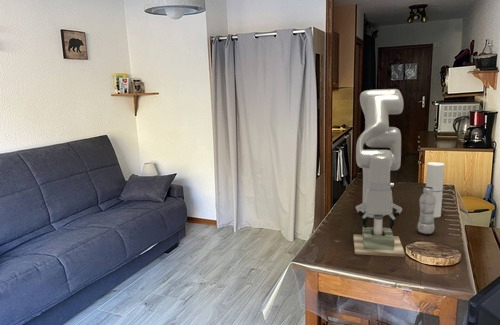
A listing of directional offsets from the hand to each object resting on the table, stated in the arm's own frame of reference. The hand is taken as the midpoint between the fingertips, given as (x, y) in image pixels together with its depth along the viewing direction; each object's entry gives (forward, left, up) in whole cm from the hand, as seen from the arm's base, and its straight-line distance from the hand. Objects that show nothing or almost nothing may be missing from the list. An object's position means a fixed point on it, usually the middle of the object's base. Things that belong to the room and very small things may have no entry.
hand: (378, 227), depth 150 cm
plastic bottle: (-16, +21, -8) cm, 27 cm away
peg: (0, 0, -7) cm, 7 cm away
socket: (0, 0, -8) cm, 8 cm away
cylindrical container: (-38, +28, -8) cm, 48 cm away
